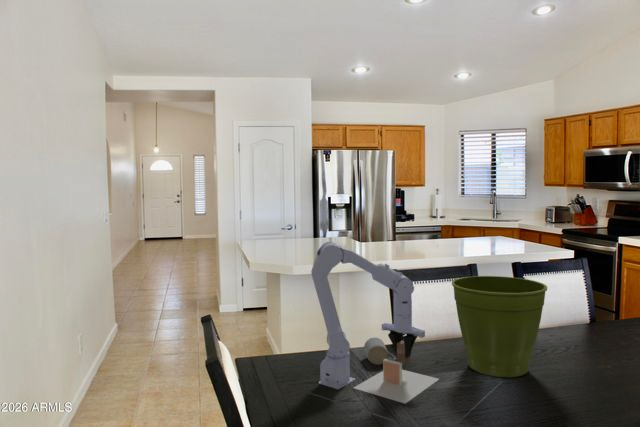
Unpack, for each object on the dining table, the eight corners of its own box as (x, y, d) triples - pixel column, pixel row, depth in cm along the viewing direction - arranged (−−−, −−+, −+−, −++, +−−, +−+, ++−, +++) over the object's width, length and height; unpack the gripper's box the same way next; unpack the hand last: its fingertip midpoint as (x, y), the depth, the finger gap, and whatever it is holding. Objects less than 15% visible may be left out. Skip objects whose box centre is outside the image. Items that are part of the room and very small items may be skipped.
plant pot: (551, 391, 148) (552, 295, 146) (448, 379, 157) (448, 290, 156) (541, 357, 176) (542, 277, 174) (454, 349, 185) (454, 273, 184)
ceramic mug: (367, 366, 170) (368, 344, 169) (363, 358, 178) (363, 337, 177) (398, 365, 171) (398, 343, 170) (392, 357, 179) (393, 336, 178)
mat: (405, 404, 140) (405, 403, 140) (352, 389, 151) (352, 387, 151) (439, 380, 157) (439, 378, 157) (390, 367, 168) (390, 366, 168)
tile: (400, 386, 152) (399, 364, 151) (383, 382, 155) (383, 360, 155) (402, 385, 153) (402, 363, 152) (385, 380, 156) (385, 358, 156)
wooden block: (405, 364, 157) (405, 344, 157) (396, 362, 159) (396, 342, 158) (409, 362, 159) (409, 342, 159) (401, 360, 161) (401, 340, 161)
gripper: (429, 314, 157) (429, 356, 157) (389, 307, 166) (389, 347, 166) (418, 319, 151) (418, 363, 152) (378, 312, 160) (378, 353, 161)
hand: (402, 355), depth 159 cm, fingers closed on wooden block, 3 cm apart
